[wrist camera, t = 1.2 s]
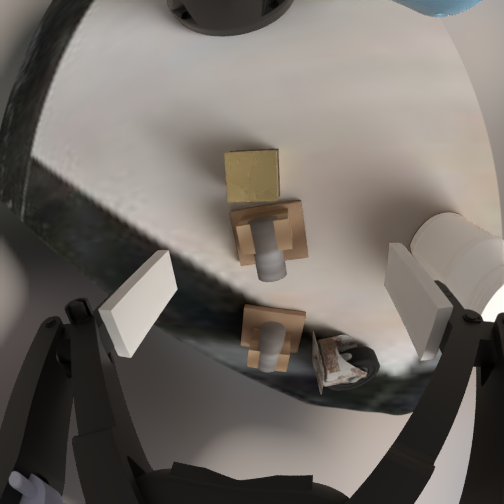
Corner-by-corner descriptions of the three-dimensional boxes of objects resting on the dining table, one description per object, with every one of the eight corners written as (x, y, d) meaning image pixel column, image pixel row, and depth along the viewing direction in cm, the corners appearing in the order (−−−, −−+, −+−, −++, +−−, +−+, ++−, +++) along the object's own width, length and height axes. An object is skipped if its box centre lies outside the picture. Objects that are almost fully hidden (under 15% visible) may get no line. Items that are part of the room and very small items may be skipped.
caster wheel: (365, 361, 41) (308, 373, 41) (378, 315, 35) (308, 330, 35) (377, 393, 35) (315, 409, 36) (395, 352, 29) (319, 371, 29)
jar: (470, 277, 31) (527, 337, 17) (418, 301, 33) (463, 376, 19) (464, 203, 27) (541, 243, 13) (405, 226, 30) (471, 284, 16)
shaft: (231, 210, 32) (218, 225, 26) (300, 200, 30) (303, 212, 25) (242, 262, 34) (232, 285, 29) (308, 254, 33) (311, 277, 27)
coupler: (237, 150, 29) (223, 152, 23) (279, 148, 29) (276, 149, 22) (239, 190, 31) (226, 203, 24) (280, 189, 30) (278, 202, 24)
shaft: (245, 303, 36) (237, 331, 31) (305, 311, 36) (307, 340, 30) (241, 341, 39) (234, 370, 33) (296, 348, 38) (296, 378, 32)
